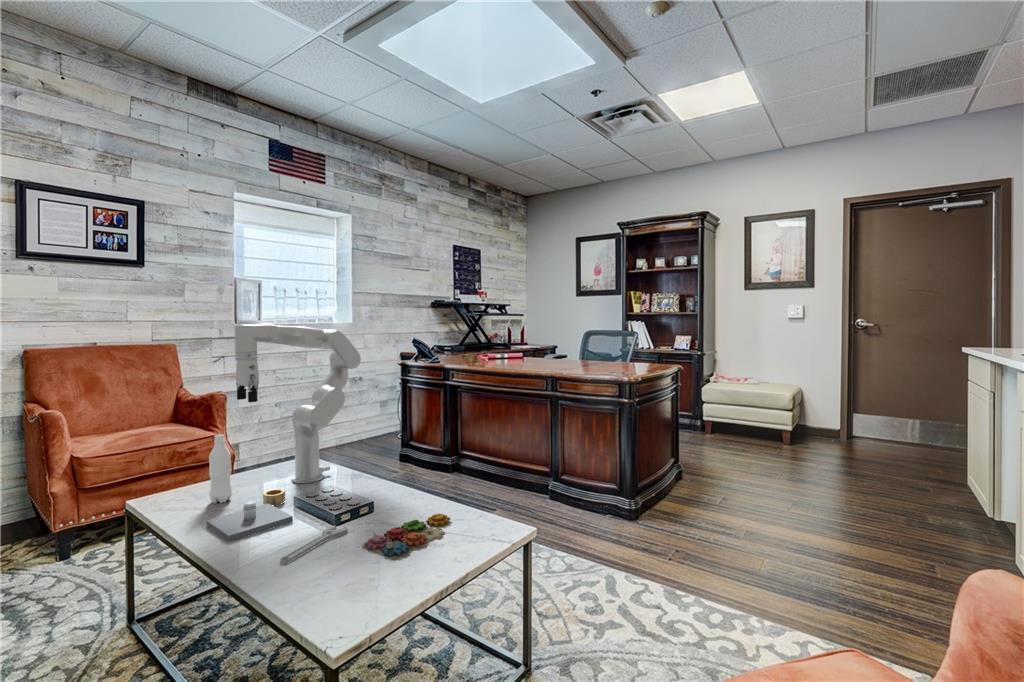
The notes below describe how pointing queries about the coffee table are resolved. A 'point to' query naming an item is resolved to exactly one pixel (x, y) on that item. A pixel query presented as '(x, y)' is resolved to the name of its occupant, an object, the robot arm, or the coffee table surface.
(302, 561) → the coffee table surface
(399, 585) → the coffee table surface
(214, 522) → the stand
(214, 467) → the water bottle
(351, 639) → the coffee table surface
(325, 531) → the adjustable wrench
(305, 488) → the coffee table surface
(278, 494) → the bronze ring
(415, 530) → the gear puzzle
